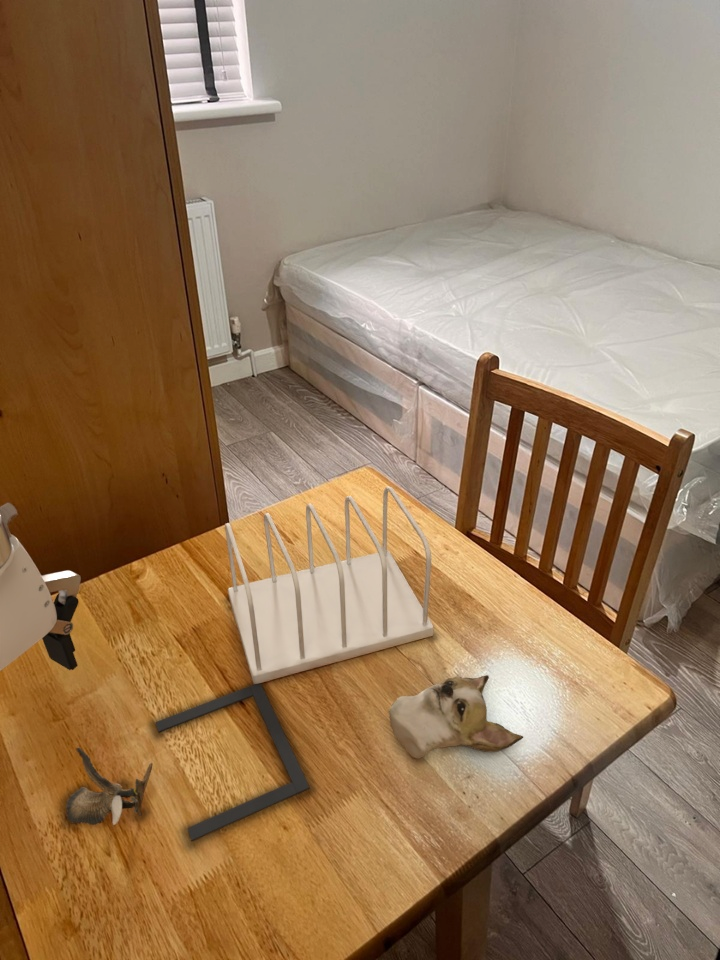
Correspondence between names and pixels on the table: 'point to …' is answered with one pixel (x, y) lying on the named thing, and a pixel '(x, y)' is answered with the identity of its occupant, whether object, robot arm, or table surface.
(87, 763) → the eagle figurine
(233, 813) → the frame
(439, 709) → the ceramic sculpture
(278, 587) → the file sorter
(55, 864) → the table surface
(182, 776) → the table surface
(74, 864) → the table surface
